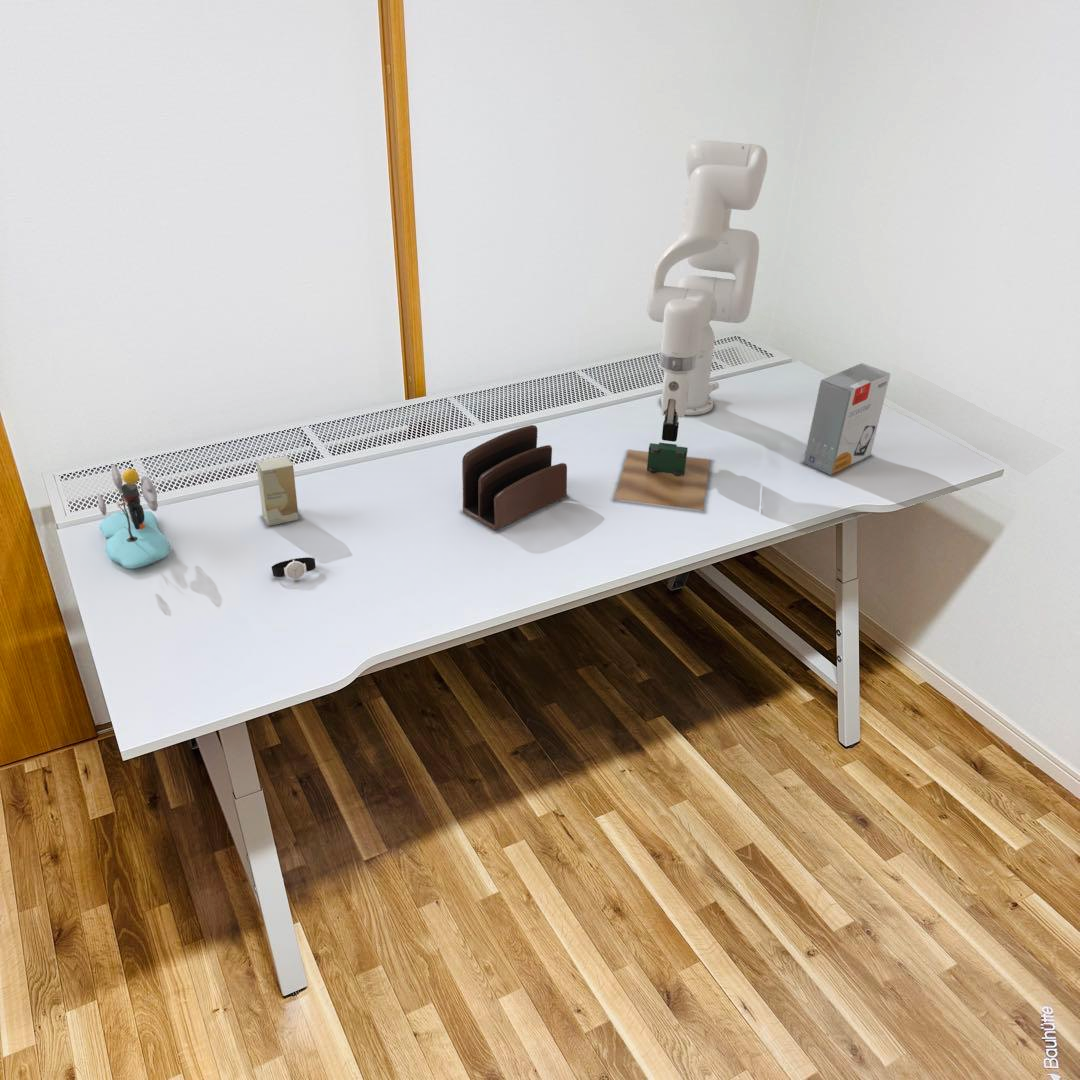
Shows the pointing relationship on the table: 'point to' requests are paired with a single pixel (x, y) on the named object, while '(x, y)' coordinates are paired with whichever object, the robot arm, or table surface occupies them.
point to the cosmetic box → (277, 490)
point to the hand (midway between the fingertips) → (669, 439)
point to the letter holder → (510, 478)
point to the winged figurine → (133, 524)
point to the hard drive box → (846, 418)
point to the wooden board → (663, 483)
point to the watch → (293, 567)
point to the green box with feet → (667, 458)
